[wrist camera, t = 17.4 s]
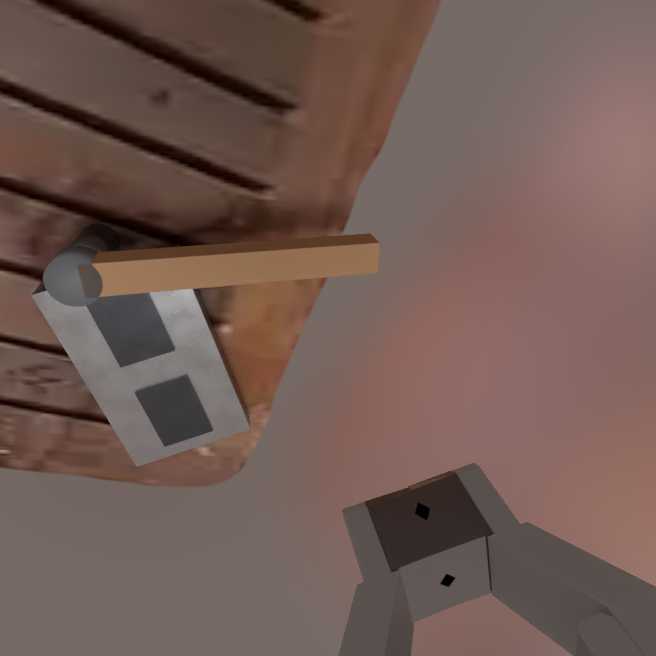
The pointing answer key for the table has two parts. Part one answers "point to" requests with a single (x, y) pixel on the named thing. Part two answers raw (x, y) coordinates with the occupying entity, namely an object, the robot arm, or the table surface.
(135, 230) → the table surface
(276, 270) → the swing bar
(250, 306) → the table surface
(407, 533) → the robot arm
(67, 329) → the block
